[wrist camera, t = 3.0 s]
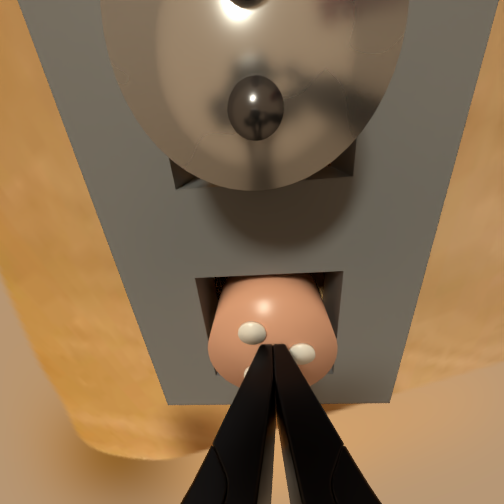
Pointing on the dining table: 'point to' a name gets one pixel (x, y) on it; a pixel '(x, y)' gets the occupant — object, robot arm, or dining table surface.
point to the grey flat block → (273, 202)
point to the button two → (253, 80)
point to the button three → (271, 324)
